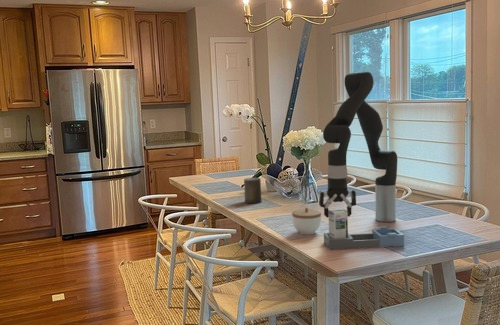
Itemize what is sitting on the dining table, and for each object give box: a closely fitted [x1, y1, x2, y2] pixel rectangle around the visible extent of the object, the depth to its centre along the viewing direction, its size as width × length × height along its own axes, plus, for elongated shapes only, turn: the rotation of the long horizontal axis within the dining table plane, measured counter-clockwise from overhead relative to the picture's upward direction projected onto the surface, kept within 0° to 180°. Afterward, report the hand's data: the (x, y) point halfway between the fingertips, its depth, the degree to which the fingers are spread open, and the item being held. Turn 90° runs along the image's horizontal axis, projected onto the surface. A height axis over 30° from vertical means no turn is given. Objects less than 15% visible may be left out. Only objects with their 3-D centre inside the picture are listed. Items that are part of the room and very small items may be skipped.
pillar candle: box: [243, 177, 262, 204], centre depth 275 cm, size 10×10×15 cm
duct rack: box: [323, 225, 405, 251], centre depth 189 cm, size 12×30×5 cm, turn 93°
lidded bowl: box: [291, 207, 322, 236], centre depth 209 cm, size 13×13×11 cm
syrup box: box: [327, 208, 349, 239], centre depth 188 cm, size 6×6×14 cm
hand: (337, 216), depth 188 cm, fingers open, 8 cm apart
